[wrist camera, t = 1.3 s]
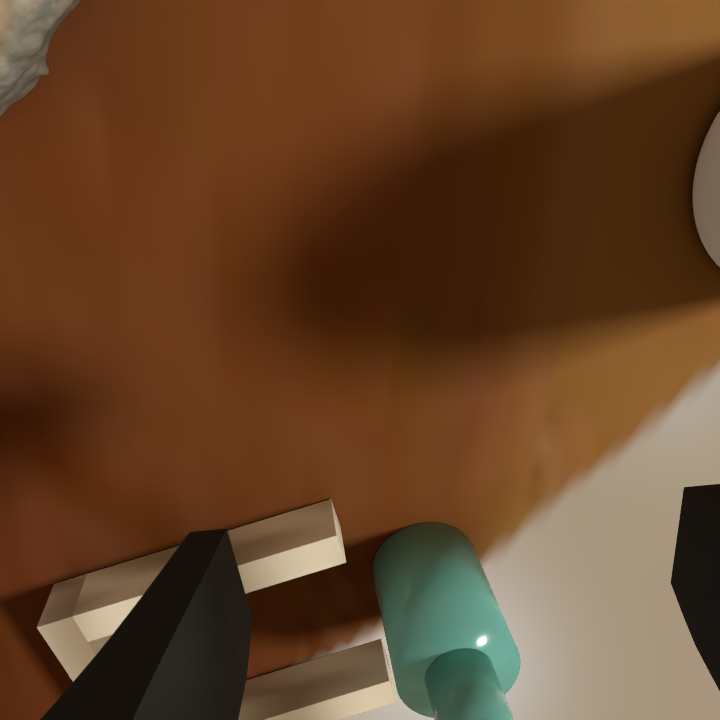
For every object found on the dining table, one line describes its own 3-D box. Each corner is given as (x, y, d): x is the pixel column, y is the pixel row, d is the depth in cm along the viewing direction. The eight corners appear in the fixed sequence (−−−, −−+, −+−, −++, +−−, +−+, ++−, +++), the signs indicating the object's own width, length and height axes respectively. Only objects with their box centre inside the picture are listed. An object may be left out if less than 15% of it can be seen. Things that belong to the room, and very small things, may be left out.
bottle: (386, 617, 26) (438, 847, 19) (360, 541, 25) (405, 759, 17) (483, 587, 26) (574, 804, 19) (463, 509, 25) (555, 713, 17)
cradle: (148, 733, 27) (139, 781, 25) (54, 583, 23) (36, 627, 22) (387, 659, 27) (396, 701, 25) (330, 499, 24) (336, 535, 22)
